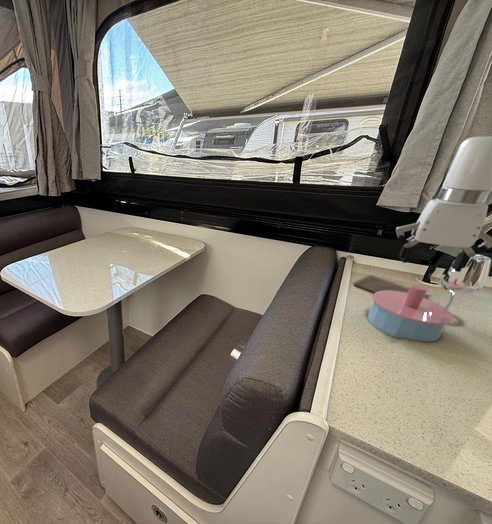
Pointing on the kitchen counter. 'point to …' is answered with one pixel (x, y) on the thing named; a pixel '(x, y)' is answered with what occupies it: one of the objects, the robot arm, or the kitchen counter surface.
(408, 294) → the pink knobbed lid
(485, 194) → the robot arm
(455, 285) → the wineglass
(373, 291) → the board
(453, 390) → the kitchen counter surface
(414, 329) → the bowl
